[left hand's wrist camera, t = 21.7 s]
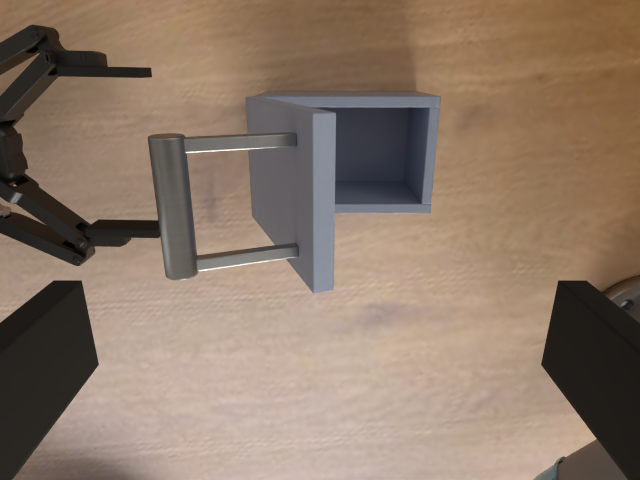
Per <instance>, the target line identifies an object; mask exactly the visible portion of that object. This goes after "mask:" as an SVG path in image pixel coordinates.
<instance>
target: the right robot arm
mask: <svg viewBox="0 0 640 480" xmlns="http://www.w3.org/2000/svg"><path fill="white" fill-rule="evenodd" d="M38 53H40V54H39V55H38V56H37V57H36V58H35V60H34V61H33V62H32V63H31V64H30V65H29V66H28V67H27V68H26V69H25V70H24V71H23V72H22V73H21V75H20V76H19V77H18V78H17V79H16V80H15V81H14V82H13V83H12V84H11V85H10V86H9V87H8V89H7V90H6V91H5V92H4V93H3V94H2V95H1V96H0V197H1V198H3V199H4V200H6V201H7V202H10V203H15V204H17V205H19V206H20V207H22V208H23V209H24V210H26V211H27V212H29V213H30V214H32V215H33V216H34V217H36V218H37V219H39V220H40V221H42V222H43V223H44V224H42V223H40V222H38V221H36V220H33V219H31V218H29V217H27V216H24V215H22V214H18V213H14V212H11V208H10V207H5V206H2V205H0V233H2V234H4V235H6V236H9V237H11V238H13V239H15V240H18V241H20V242H22V243H25V244H27V245H29V246H32V247H34V248H36V249H38V250H41V251H43V252H45V253H48V254H50V255H52V256H55V257H57V258H59V259H61V260H64V261H66V262H68V263H71V264H73V265H76V266H80V265H82V264H83V263H84V262H85V261H87V260H88V259H89V258H90V257H92V256H93V255H94V254H95V248H94V247H95V246H111V247H113V246H114V247H120V246H123V245H125V244H127V243H128V242H129V241H130V240H131V237H132V238H159V237H160V228H159V221H155V220H97V221H96V222H94V223H93V224H89V223H88V222H87V221H85V220H84V219H82V218H81V217H80V216H78V215H77V214H75V213H74V212H73V211H71V210H70V209H68V208H67V207H66V206H64V205H63V204H62V203H60V202H59V201H57V200H56V199H55V198H53V197H52V196H50V195H49V194H48V193H46V192H45V191H43V190H42V189H41V188H39V184H38V183H37V182H36V181H35V180H33V179H32V178H30V177H29V176H28V175H26V174H25V169H28V165H27V160H26V158H25V156H24V154H23V152H22V146H23V141H22V137H21V134H18V133H17V131H16V130H15V128H14V127H13V126H14V125H15V124H16V123H17V122H18V121H19V120H20V119H21V118H22V117H23V116H24V112H25V111H26V110H27V109H28V108H29V107H30V105H31V104H32V103H33V102H34V101H35V100H36V99H37V98H38V97H39V96H40V95H41V94H42V93H43V92H44V91H45V90H46V89H47V88H48V87H49V86H50V85H51V84H52V83H53V82H54V80H55V79H56V78H57V77H58V76H76V77H130V78H144V77H152V73H151V68H136V67H108V66H107V59H106V54H103V53H101V52H95V51H68V50H66V49H64V48H63V47H62V45H61V43H60V41H59V34H58V32H57V30H56V29H54V28H50V27H44V26H38V25H30V26H28V27H27V28H25V29H23V30H22V31H20V32H18V33H16V34H15V35H13V36H11V37H10V38H8V39H6V40H5V41H3V42H1V43H0V75H1V74H3V73H5V72H6V71H8V70H10V69H12V68H13V67H15V66H17V65H19V64H20V63H22V62H24V61H26V60H27V59H29V58H31V57H32V56H34V55H36V54H38ZM14 184H15V185H17V186H15V187H14V186H13V185H14ZM45 224H46V225H45Z"/></svg>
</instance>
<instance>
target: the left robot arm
mask: <svg viewBox="0 0 640 480" xmlns="http://www.w3.org/2000/svg"><path fill="white" fill-rule="evenodd" d="M98 365H99V364H98V359H97V354H96V349H95V344H94V339H93V334H92V329H91V324H90V319H89V315H88V310H87V305H86V300H85V295H84V290H83V285H82V281H53V282H51V283H50V284H49V285H48V286H46V287H45V288H44V289H43V290H41V291H40V292H39V293H37V294H36V295H35V296H34V297H32V298H31V299H30V300H29V301H27V302H26V303H25V304H24V305H22V306H21V307H20V308H18V309H17V310H16V311H15V312H13V313H12V314H11V315H10V316H8V317H7V318H6V319H5V320H3V321H2V322H1V323H0V480H13V478H14V477H15V476H16V474H17V473H18V472H19V470H20V469H21V468H22V466H23V465H24V464H25V462H26V461H27V460H28V458H29V457H30V456H31V454H32V453H33V452H34V450H35V449H36V448H37V446H38V445H39V444H40V442H41V441H42V440H43V438H44V437H45V436H46V434H47V433H48V432H49V430H50V429H51V428H52V426H53V425H54V424H55V422H56V421H57V420H58V418H59V417H60V416H61V414H62V413H63V412H64V410H65V409H66V408H67V406H68V405H69V404H70V402H71V401H72V400H73V398H74V397H75V396H76V394H77V393H78V392H79V390H80V389H81V388H82V386H83V385H84V384H85V382H86V381H87V380H88V378H89V377H90V376H91V374H92V373H93V372H94V370H95V369H96V368H97V366H98ZM541 365H542V366H543V368H544V369H545V370H546V372H547V373H548V374H549V376H550V377H551V378H552V380H553V381H554V382H555V384H556V385H557V386H558V388H559V389H560V390H561V392H562V393H563V394H564V396H565V397H566V398H567V400H568V401H569V402H570V404H571V405H572V406H573V408H574V409H575V410H576V412H577V413H578V414H579V416H580V417H581V418H582V420H583V421H584V422H585V424H586V425H587V426H588V428H589V429H590V430H591V432H592V433H593V434H594V436H595V437H596V438H597V439H596V440H595V441H593V442H591V443H590V444H588V445H586V446H584V447H583V448H581V449H579V450H578V451H576V452H574V453H572V454H571V455H569V456H567V457H561V458H559V459H558V460H557V461H556V462H555V464H554V465H553V466H552V467H550V468H549V469H547V470H546V471H544V472H543V473H541V474H540V475H538V476H537V477H536V478H535V479H534V480H640V276H637V277H633V278H630V279H627V280H625V281H623V282H620V283H618V284H616V285H615V286H613V287H611V288H610V289H608V290H607V291H605V292H604V293H601V292H600V291H599V290H597V289H596V288H595V287H594V286H592V285H591V284H590V283H589V282H587V281H558V285H557V290H556V295H555V300H554V305H553V310H552V315H551V319H550V324H549V329H548V334H547V339H546V344H545V349H544V354H543V359H542V364H541Z"/></svg>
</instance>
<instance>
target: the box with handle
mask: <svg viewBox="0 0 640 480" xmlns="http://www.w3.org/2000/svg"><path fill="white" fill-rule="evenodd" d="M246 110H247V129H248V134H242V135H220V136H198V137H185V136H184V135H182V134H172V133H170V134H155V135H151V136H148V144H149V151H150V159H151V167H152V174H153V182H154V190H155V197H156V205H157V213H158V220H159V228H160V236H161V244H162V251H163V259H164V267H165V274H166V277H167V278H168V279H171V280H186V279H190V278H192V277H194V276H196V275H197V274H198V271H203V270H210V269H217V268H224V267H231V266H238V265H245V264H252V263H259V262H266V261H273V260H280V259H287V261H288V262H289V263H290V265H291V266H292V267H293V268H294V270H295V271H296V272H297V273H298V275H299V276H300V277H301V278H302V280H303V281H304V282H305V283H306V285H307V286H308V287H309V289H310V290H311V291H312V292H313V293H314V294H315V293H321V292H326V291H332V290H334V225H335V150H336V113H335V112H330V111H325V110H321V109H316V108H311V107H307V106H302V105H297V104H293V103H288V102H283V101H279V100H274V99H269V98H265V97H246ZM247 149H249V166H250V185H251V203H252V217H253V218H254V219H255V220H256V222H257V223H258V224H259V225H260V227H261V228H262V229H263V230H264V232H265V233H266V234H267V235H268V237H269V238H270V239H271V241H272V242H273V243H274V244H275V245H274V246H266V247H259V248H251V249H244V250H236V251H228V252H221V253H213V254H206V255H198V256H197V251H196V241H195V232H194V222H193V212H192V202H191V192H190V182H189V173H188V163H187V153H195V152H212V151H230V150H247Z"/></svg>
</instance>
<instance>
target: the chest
mask: <svg viewBox="0 0 640 480" xmlns="http://www.w3.org/2000/svg"><path fill="white" fill-rule="evenodd" d="M255 97H265V98H269V99H274V100H279V101H283V102H288V103H293V104H297V105H302V106H307V107H311V108H316V109H321V110H325V111H330V112H335V113H336V150H335V213H430V211H431V199H432V188H433V177H434V166H435V155H436V144H437V133H438V122H439V111H440V108H439V107H440V101H441V97H440V96H436V95H431V94H427V93H422V92H418V91H267V92H265V93H262V94H260V95H257V96H255Z"/></svg>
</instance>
